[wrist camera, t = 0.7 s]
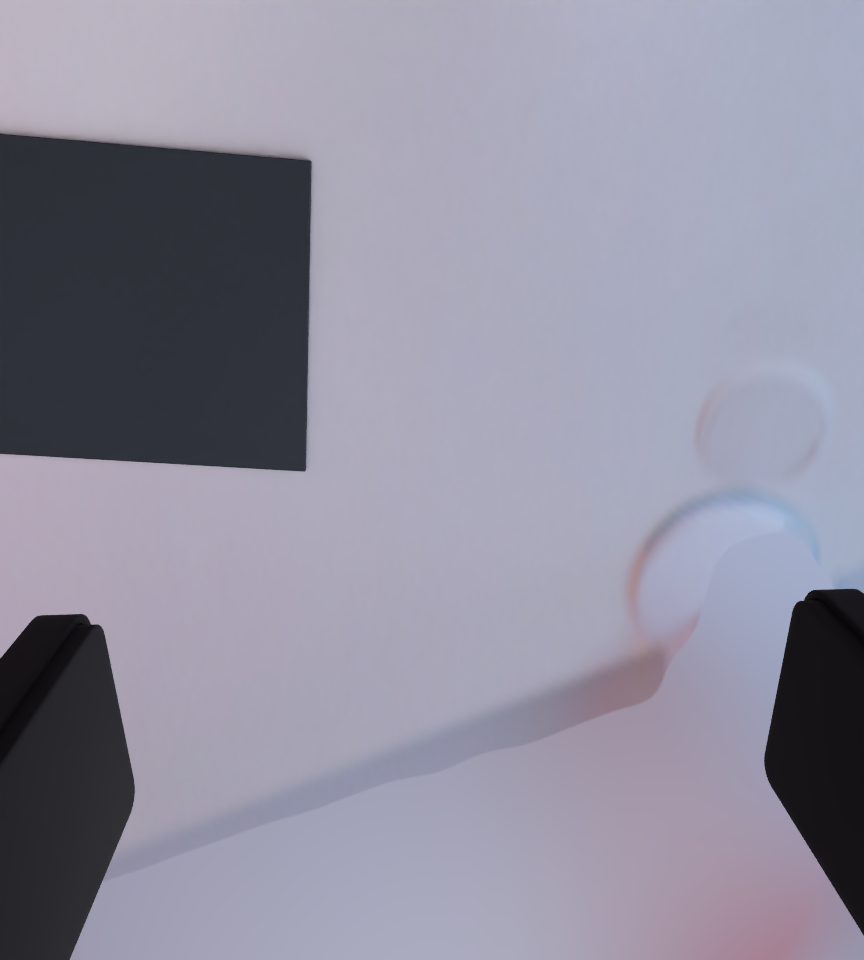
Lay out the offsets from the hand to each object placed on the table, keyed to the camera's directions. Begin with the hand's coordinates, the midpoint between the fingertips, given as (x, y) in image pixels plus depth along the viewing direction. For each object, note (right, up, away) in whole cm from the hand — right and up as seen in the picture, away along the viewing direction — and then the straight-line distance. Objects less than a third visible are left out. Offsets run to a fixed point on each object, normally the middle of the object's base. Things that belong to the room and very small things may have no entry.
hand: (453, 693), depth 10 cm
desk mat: (-18, +12, +33) cm, 40 cm away
